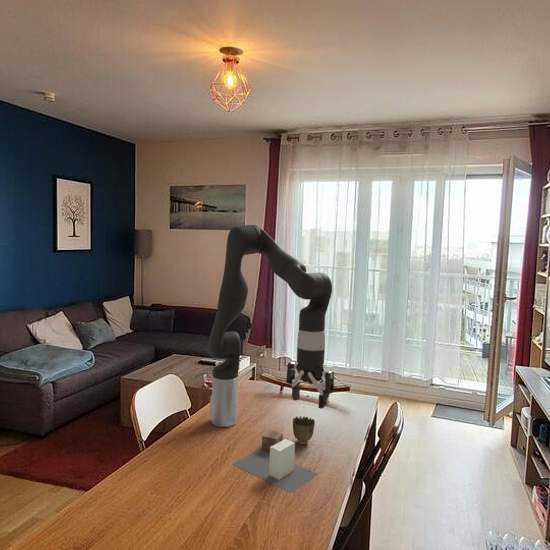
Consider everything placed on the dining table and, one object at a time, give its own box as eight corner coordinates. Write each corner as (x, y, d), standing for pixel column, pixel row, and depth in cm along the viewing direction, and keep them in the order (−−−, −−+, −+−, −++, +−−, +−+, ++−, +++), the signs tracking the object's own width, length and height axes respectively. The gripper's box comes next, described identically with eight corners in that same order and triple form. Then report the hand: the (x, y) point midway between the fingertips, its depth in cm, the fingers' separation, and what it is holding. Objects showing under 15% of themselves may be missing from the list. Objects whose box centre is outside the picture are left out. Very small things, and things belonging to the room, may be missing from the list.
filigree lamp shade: (312, 450, 146) (313, 426, 146) (289, 447, 148) (290, 423, 147) (315, 440, 154) (316, 417, 153) (293, 437, 155) (294, 414, 154)
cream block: (269, 475, 129) (270, 447, 129) (284, 466, 135) (285, 439, 134) (278, 480, 127) (279, 451, 126) (293, 470, 132) (294, 442, 132)
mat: (232, 465, 135) (232, 464, 135) (261, 450, 145) (261, 449, 145) (290, 494, 121) (290, 492, 121) (318, 475, 131) (318, 473, 131)
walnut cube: (261, 450, 145) (262, 435, 145) (268, 444, 150) (268, 429, 149) (275, 454, 143) (276, 439, 142) (282, 447, 147) (282, 433, 147)
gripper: (281, 343, 126) (280, 400, 127) (325, 353, 117) (323, 414, 118) (298, 339, 131) (296, 394, 133) (340, 348, 122) (338, 406, 124)
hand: (308, 403), depth 125 cm, fingers open, 8 cm apart
